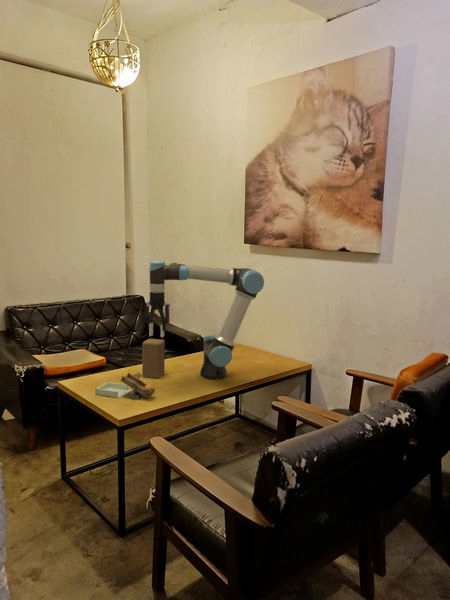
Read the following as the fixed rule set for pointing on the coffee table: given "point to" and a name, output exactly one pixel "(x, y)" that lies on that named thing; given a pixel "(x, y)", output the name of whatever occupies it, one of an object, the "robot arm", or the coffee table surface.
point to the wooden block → (153, 358)
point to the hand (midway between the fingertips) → (156, 336)
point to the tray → (112, 390)
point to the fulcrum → (135, 395)
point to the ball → (148, 388)
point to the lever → (137, 384)
